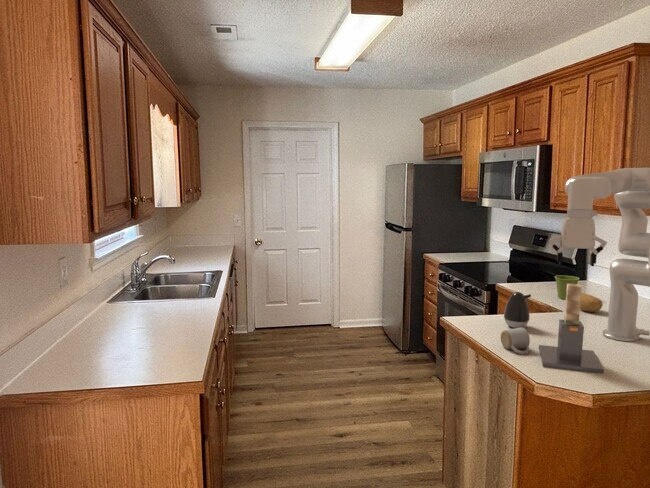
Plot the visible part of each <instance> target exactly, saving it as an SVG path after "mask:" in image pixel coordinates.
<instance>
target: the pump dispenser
mask: <svg viewBox="0 0 650 488" xmlns="http://www.w3.org/2000/svg"><path fill="white" fill-rule="evenodd" d="M531 297H532V295H531V294H526V295H524V294H523V293H522V292H520V291H515V292H513V293H511V295H510V296H509V298H508V300H507V302H506V305H505V307H504V312H503V313H504V314H503V319H504V322H505V323H506V325H507V326H509V328H511V329H515V328H521V327H522V328H525V327H526V326H527V325H528V323H529V321H530V309H529V304H528V301H527V299H528V298H531Z"/></svg>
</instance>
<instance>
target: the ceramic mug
mask: <svg viewBox="0 0 650 488" xmlns="http://www.w3.org/2000/svg"><path fill="white" fill-rule="evenodd" d="M500 342H501V344H502V346H503V347H504V348H505V349H506V350H512V351H514V352H515V353H517V354H519V355H527V354H528V353H529V350H530V342H531V339H530V335H529V333H528V331H527V330H526V328H525V327H523V328H522V327H521V328H508V329H504V330H503V331H502V332H501V333H500ZM520 349H526V350H520Z"/></svg>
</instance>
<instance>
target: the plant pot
mask: <svg viewBox="0 0 650 488" xmlns="http://www.w3.org/2000/svg"><path fill="white" fill-rule="evenodd" d="M554 279H555V282H556V283H555V284H556V292H557V297H558V299H559V300H566V289H567V284H579V283H578V282H579V280H580V277H578V276H573V275H555V276H554Z"/></svg>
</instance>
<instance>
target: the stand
mask: <svg viewBox="0 0 650 488" xmlns="http://www.w3.org/2000/svg"><path fill="white" fill-rule="evenodd" d="M584 330H585V327H584V324H583V322H582V321H580V320H579V326H577V325H566V324H564V319H559V320H558V332H557V333H558V335H557V346H555V345H554V346H553V345H545V344H543V345H542V344H538V352H539V356H540V360H541V365H542V367H545V368H551V369H552V368H553V369H559V370H560V369H561V370H562V369H563V370H570V371H575V372H577V371H578V372H586V373H594V374H595V373H596V374H604V367H603V366H602V364H601V362H600V360H599V359H598V357H597V355H596V353H595V352H594V350H592V349H591V350H590V349H583V345H584V333H585V331H584Z"/></svg>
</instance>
